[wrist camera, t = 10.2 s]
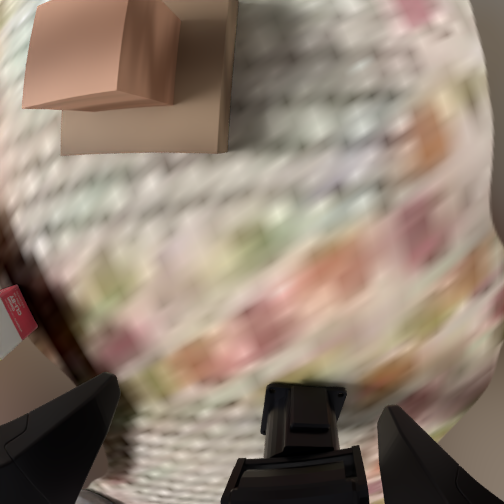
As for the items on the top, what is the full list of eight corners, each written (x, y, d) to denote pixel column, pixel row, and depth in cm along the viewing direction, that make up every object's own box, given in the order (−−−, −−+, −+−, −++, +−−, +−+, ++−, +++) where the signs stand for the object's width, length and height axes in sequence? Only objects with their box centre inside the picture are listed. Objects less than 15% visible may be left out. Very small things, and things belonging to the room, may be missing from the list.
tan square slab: (227, 152, 18) (216, 153, 15) (86, 152, 19) (60, 156, 16) (238, 2, 15) (230, -19, 12) (98, 20, 16) (75, 8, 13)
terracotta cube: (173, 105, 15) (116, 90, 9) (93, 111, 15) (22, 108, 9) (181, 20, 13) (133, -27, 7) (101, 33, 13) (37, 6, 8)
